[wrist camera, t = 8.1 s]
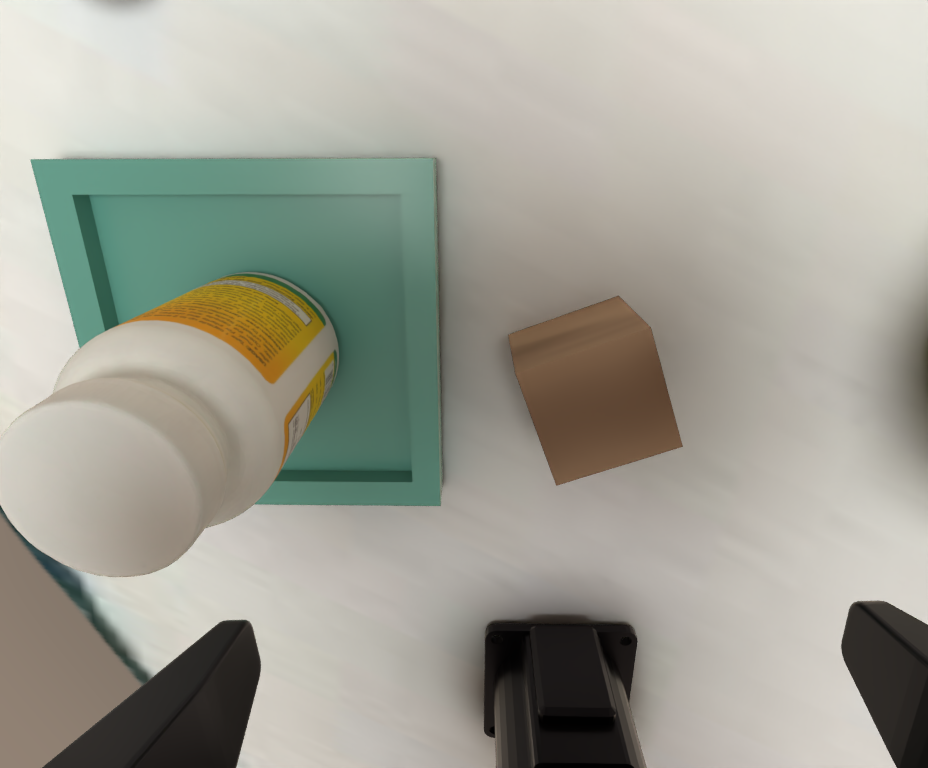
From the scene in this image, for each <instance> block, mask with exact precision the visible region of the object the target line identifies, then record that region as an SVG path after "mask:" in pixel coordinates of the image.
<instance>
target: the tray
mask: <svg viewBox="0 0 928 768" xmlns="http://www.w3.org/2000/svg"><path fill="white" fill-rule="evenodd" d="M31 164H32V168H33V171H34V175H35V179H36V183H37V187H38V191H39V194H40V198H41V202H42V206H43V210H44V213H45V217H46V221H47V225H48V229H49V233H50V236H51V240H52V244H53V248H54V252H55V255H56V259H57V263H58V267H59V271H60V274H61V278H62V282H63V286H64V290H65V294H66V297H67V301H68V305H69V309H70V313H71V316H72V320H73V324H74V328H75V332H76V336H77V339H78V343H79V347H80V348H81V347H82V346H83V345H84V344H86V343H87V342H88V341H90V340H91V339H93V338H94V337H96V336H97V335H99V334H101V333H103V332H105V331H107V330H109V329H111V328H113V327H115V326H118V325H120V324H122V323H124V322H126V321H128V320H131V319H133V318H135V317H137V316H139V315H141V314H143V313H145V312H148V311H150V310H152V309H154V308H156V307H158V306H160V305H162V304H164V303H166V302H169V301H171V300H173V299H175V298H177V297H179V296H181V295H183V294H186V293H188V292H190V291H192V290H194V289H196V288H198V287H200V286H203V285H205V284H207V283H209V282H211V281H214V280H216V279H219V278H221V277H223V276H227V275H230V274H235V273H242V272H258V273H265V274H269V275H273V276H276V277H279V278H282V279H284V280H286V281H288V282H290V283H292V284H294V285H295V286H297V287H299V288H300V289H301V290H303V291H304V292H306V293H307V294H308V295H309V296H310V297H311V298H313V299H314V300H315V301H316V302H317V303H318V304H319V305H320V306H321V307H322V309H323V310H324V312H325V313H326V315H327V317H328V318H329V320H330V322H331V324H332V326H333V328H334V331H335V334H336V337H337V342H338V348H339V365H338V371H337V375H336V378H335V381H334V383H333V385H332V387H331V389H330V391H329V393H328V395H327V397H326V398H325V400H324V401H323V403H322V405H321V406H320V408H319V410H318V411H317V413H316V414H315V416H314V418H313V419H312V421H311V422H310V424H309V426H308V427H307V429H306V431H305V432H304V434H303V436H302V437H301V439H300V440H299V442H298V443H297V445H296V446H295V448H294V450H293V451H292V453H291V454H290V456H289V457H288V459H287V461H286V462H285V464H284V466H283V468H282V469H281V471H280V472H279V474H278V475H277V477H276V479H275V480H274V482H273V483H272V484H271V486H270V487H269V489H268V490H267V491H266V492H265V494H264V495H263V496H262V497H261V498H260V499H259V500H258V501H257V502H256V503H255V504H274V505H392V506H440V505H441V495H442V437H441V386H440V335H439V284H438V233H437V182H436V158H262V159H31Z"/></svg>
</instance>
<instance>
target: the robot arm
mask: <svg viewBox="0 0 928 768" xmlns="http://www.w3.org/2000/svg"><path fill="white" fill-rule="evenodd" d="M494 635H500V636H499V637H494ZM623 637H627V638H623ZM636 648H637V636H636V633H635V630H634V629H633V628H632V627H630V626H627V625H580V624H499V623H497V624H492V625H490V626H488V627H487V628H486V631H485V679H484V732H485V734H486V735H487V736H489V737H493V738H495V745H496V768H647V767H646V764H645V760H644V757H643V753H642V749H641V746H640V742H639V739H638V735H637V731H636V728H635V724H634V721H633V717H632V713H631V710H630V706H629V698H630V691H631V684H632V677H633V670H634V663H635V656H636ZM841 648H842V655H843V658H844V661H845V663H846V665H847V667H848V670H849V672H850V674H851V676H852V678H853V680H854V682H855V684H856V686H857V688H858V690H859V692H860V694H861V696H862V698H863V700H864V702H865V704H866V706H867V708H868V711H869V713H870V715H871V717H872V719H873V721H874V723H875V725H876V727H877V729H878V731H879V733H880V735H881V737H882V739H883V741H884V743H885V745H886V747H887V749H888V751H889V753H890V755H891V757H892V759H893V761H894V763H895V765H896V767H897V768H928V625H927V624H925V623H924V622H922V621H920V620H918V619H916V618H914V617H913V616H911V615H909V614H907V613H905V612H904V611H902V610H900V609H898V608H896V607H895V606H893V605H891V604H889V603H887V602H884V601H857V602H854V603H853V604H852V605H851V606H850V609H849V612H848V617H847V621H846V625H845V630H844V634H843V638H842V644H841ZM260 671H261V661H260V656H259V652H258V647H257V643H256V639H255V635H254V631H253V627H252V625H251V623H250V622H249V621H247V620H226V621H222V622H220V623H219V624H217V625H216V626H215V627H213V628H212V629H211V630H210V631H209V632H207V633H206V634H205V635H204V636H202V637H201V638H200V639H199V640H198V641H196V642H195V643H194V644H193V645H191V646H190V647H189V648H188V649H187V650H185V651H184V652H183V653H182V654H180V655H179V656H178V657H177V658H176V659H174V660H173V661H172V662H171V663H169V664H168V665H167V666H166V667H165V668H163V669H162V670H161V671H160V672H158V673H157V674H156V675H155V676H154V677H152V678H151V679H150V680H149V681H147V682H146V683H145V684H144V685H143V686H141V687H140V688H139V689H138V690H136V691H135V692H134V693H133V694H132V695H130V696H129V697H128V698H127V699H125V700H124V701H123V702H122V703H121V704H120V705H118V706H117V707H116V708H114V709H113V710H112V711H111V712H110V713H108V714H107V715H106V716H105V717H103V718H102V719H101V720H100V721H99V722H97V723H96V724H95V725H94V726H93V727H91V728H90V729H89V730H88V731H86V732H85V733H84V734H83V735H81V736H80V737H79V738H78V739H77V740H75V741H74V742H73V743H72V744H71V745H69V746H68V747H67V748H66V749H64V750H63V751H62V752H61V753H60V754H58V755H57V756H56V757H55V758H53V759H52V760H51V761H50V762H49V763H47V764H46V765H45V766H44V767H42V768H236V766H237V763H238V759H239V755H240V751H241V747H242V743H243V739H244V736H245V732H246V728H247V724H248V720H249V716H250V712H251V708H252V704H253V701H254V697H255V693H256V689H257V685H258V681H259V677H260Z"/></svg>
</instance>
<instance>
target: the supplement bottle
mask: <svg viewBox="0 0 928 768" xmlns="http://www.w3.org/2000/svg"><path fill="white" fill-rule="evenodd" d="M338 365H339V348H338V342H337V337H336V334H335V331H334V328H333V326H332V324H331V322H330V320H329V318H328V317H327V315H326V313H325V312H324V310H323V309H322V307H321V306H320V305H319V304H318V303H317V302H316V301H315V300H314V299H313V298H311V297H310V296H309V295H308V294H307V293H306V292H304V291H303V290H301V289H300V288H299V287H297V286H295V285H294V284H292V283H290V282H288V281H286V280H284V279H282V278H279V277H276V276H273V275H269V274H265V273H258V272H242V273H235V274H230V275H227V276H223V277H221V278H219V279H216V280H214V281H211V282H209V283H207V284H205V285H203V286H200V287H198V288H196V289H194V290H192V291H190V292H188V293H186V294H183V295H181V296H179V297H177V298H175V299H173V300H171V301H169V302H166V303H164V304H162V305H160V306H158V307H156V308H154V309H152V310H150V311H148V312H145V313H143V314H141V315H139V316H137V317H135V318H133V319H131V320H128V321H126V322H124V323H122V324H120V325H118V326H115V327H113V328H111V329H109V330H107V331H105V332H103V333H101V334H99V335H97V336H96V337H94V338H93V339H91V340H90V341H88V342H87V343H86V344H84V345H83V346H82V347H81V348H80V349H78V350H77V351H76V352H75V354H74V355H73V356H72V357H71V358H70V359H69V361H68V362H67V363H66V365H65V366H64V368H63V369H62V371H61V373H60V375H59V377H58V379H57V382H56V384H55V387H54V390H53V394H52V395H51V396H49V397H48V398H47V399H45V400H43V401H42V402H40V403H39V404H37V405H35V406H34V407H32V408H30V409H29V410H27V411H26V412H24V413H23V414H22V415H20V416H19V417H18V418H17V419H16V420H15V421H14V422H12V423H11V425H10V426H9V427H8V428H7V429H6V430H5V432H4V433H3V434H2V436H1V437H0V505H1V507H2V509H3V510H4V512H5V514H6V515H7V517H8V519H9V520H10V522H11V523H12V524H13V525H14V526H15V528H16V529H17V530H18V531H19V532H20V533H21V534H22V535H23V536H24V537H25V538H26V539H27V541H29V542H30V543H31V544H32V545H34V546H35V547H36V548H37V549H39V550H40V551H42V552H43V553H45V554H47V555H48V556H50V557H52V558H53V559H55V560H57V561H58V562H60V563H62V564H64V565H66V566H69V567H71V568H73V569H76V570H79V571H83V572H87V573H91V574H94V575H99V576H108V577H131V576H140V575H145V574H150V573H152V572H155V571H158V570H160V569H163V568H165V567H167V566H169V565H170V564H172V563H173V562H175V561H176V560H178V559H179V558H180V557H181V556H182V555H183V554H184V553H185V552H186V551H187V550H188V549H189V548H190V547H191V546H192V545H193V543H194V542H195V541H196V539H197V538H198V537H199V535H200V534H201V533H202V531H203V530H204V529H205V528H207V527H211V526H215V525H218V524H221V523H224V522H226V521H228V520H231V519H233V518H235V517H236V516H238V515H240V514H241V513H243V512H245V511H246V510H247V509H249V508H250V507H251V506H253V505H254V504H255V503H256V502H257V501H258V500H259V499H260V498H261V497H262V496H263V495H264V494H265V492H266V491H267V490H268V489H269V487H270V486H271V484H272V483H273V482H274V480H275V479H276V477H277V475H278V474H279V472H280V471H281V469H282V468H283V466H284V464H285V462H286V461H287V459H288V457H289V456H290V454H291V453H292V451H293V450H294V448H295V446H296V445H297V443H298V442H299V440H300V439H301V437H302V436H303V434H304V432H305V431H306V429H307V427H308V426H309V424H310V422H311V421H312V419H313V418H314V416H315V414H316V413H317V411H318V410H319V408H320V406H321V405H322V403H323V401H324V400H325V398H326V397H327V395H328V393H329V391H330V389H331V387H332V385H333V383H334V381H335V378H336V375H337V371H338Z"/></svg>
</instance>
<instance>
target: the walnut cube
mask: <svg viewBox="0 0 928 768" xmlns="http://www.w3.org/2000/svg"><path fill="white" fill-rule="evenodd" d="M508 336H509V342H510V347H511V353H512V358H513V364H514V369H515V374H516V377H517V379H518V382H519V385H520V388H521V390H522V393H523V396H524V399H525V401H526V404H527V407H528V409H529V412H530V415H531V418H532V420H533V423H534V426H535V429H536V431H537V434H538V437H539V440H540V442H541V445H542V448H543V450H544V453H545V456H546V459H547V461H548V464H549V467H550V470H551V472H552V475H553V478H554V480H555V483H556V486H557V485H560V484H563V483H566V482H570V481H573V480H576V479H579V478H583V477H586V476H589V475H592V474H596V473H599V472H602V471H605V470H609V469H612V468H615V467H618V466H622V465H625V464H628V463H631V462H635V461H638V460H641V459H644V458H648V457H651V456H654V455H657V454H661V453H664V452H667V451H670V450H673V449H677V448H680V447H683V446H682V442H681V439H680V435H679V431H678V427H677V424H676V420H675V416H674V412H673V409H672V405H671V401H670V397H669V394H668V390H667V386H666V383H665V379H664V375H663V371H662V368H661V364H660V360H659V356H658V353H657V349H656V345H655V341H654V338H653V334H652V330H651V327H650V326H649V325H648V324H647V323H646V322H645V321H644V320H643V319H642V318H641V317H640V316H639V315H638V314H637V313H636V312H634V311H633V310H632V309H631V308H630V307H629V306H628V305H627V304H626V303H625V302H624V301H623V300H622V299H621V298H620V297H619V296H617V297H614V298H611V299H608V300H605V301H602V302H600V303H597V304H594V305H591V306H588V307H585V308H583V309H580V310H577V311H574V312H571V313H568V314H565V315H563V316H560V317H557V318H554V319H551V320H548V321H546V322H543V323H540V324H537V325H534V326H531V327H528V328H526V329H523V330H520V331H517V332H514V333H511V334H509V335H508Z"/></svg>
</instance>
